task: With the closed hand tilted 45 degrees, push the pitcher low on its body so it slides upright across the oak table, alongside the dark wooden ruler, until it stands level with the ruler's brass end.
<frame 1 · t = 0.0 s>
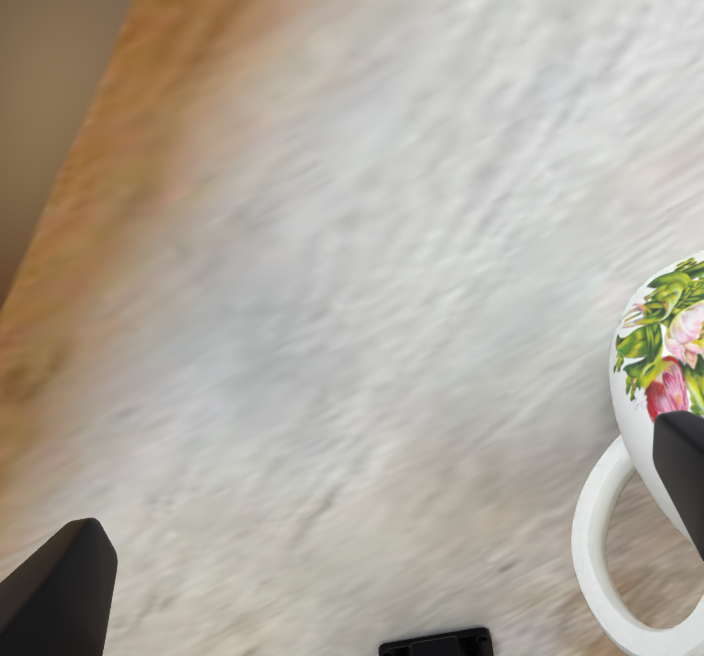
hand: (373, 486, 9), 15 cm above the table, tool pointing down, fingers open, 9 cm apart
pitcher: (673, 339, 26), on the table
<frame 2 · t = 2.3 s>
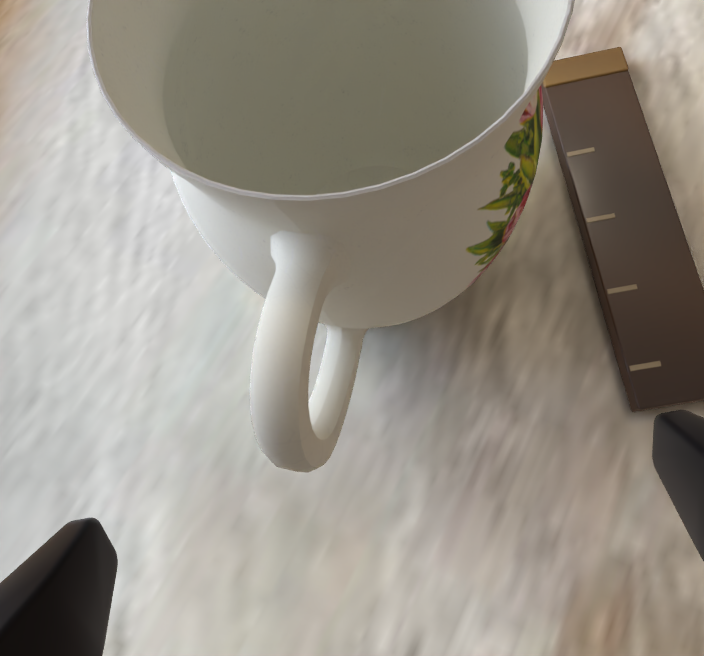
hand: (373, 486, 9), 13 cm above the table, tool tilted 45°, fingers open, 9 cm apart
pitcher: (371, 259, 25), on the table
ruler: (622, 221, 24), on the table
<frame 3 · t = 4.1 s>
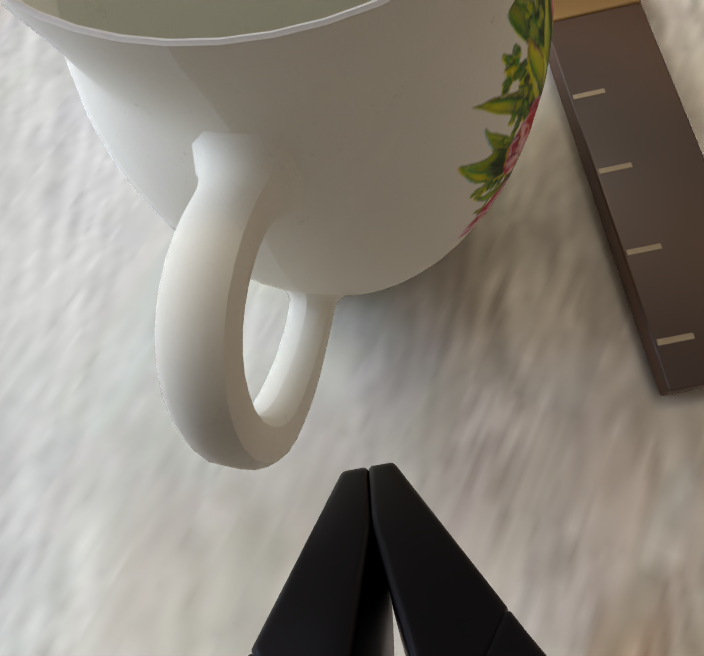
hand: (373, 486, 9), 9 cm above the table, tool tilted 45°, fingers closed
pitcher: (346, 224, 21), on the table
ruler: (639, 174, 20), on the table
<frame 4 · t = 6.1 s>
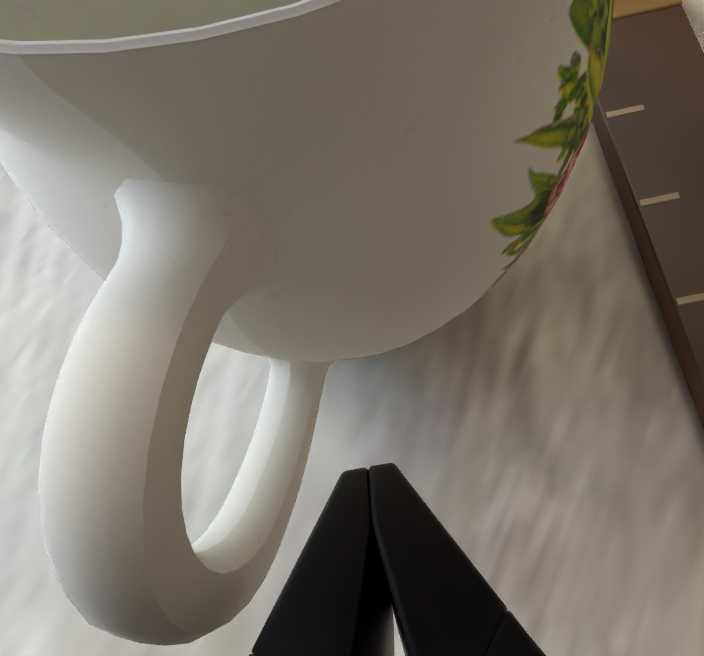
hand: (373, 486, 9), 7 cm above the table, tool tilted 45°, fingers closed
pitcher: (340, 262, 18), on the table, touching gripper
ruler: (686, 205, 17), on the table
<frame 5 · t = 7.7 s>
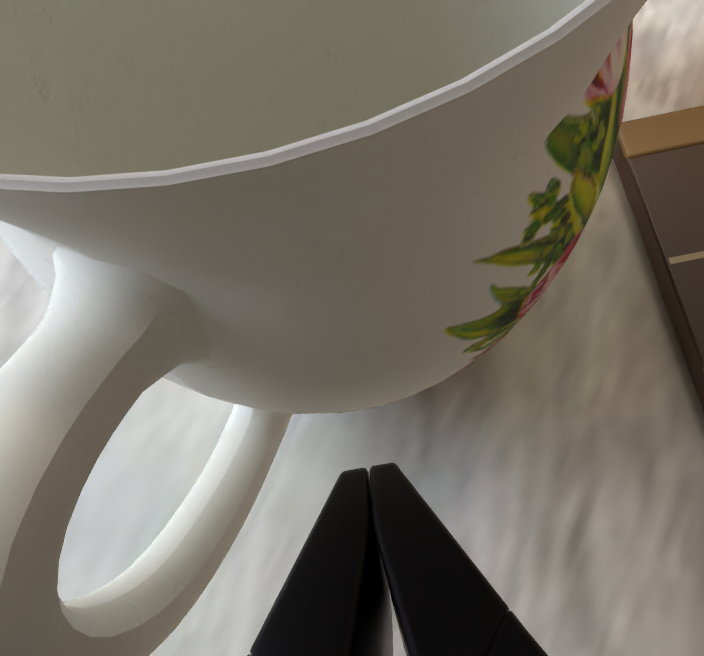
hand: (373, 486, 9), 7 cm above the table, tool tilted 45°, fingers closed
pitcher: (337, 294, 18), on the table, touching gripper
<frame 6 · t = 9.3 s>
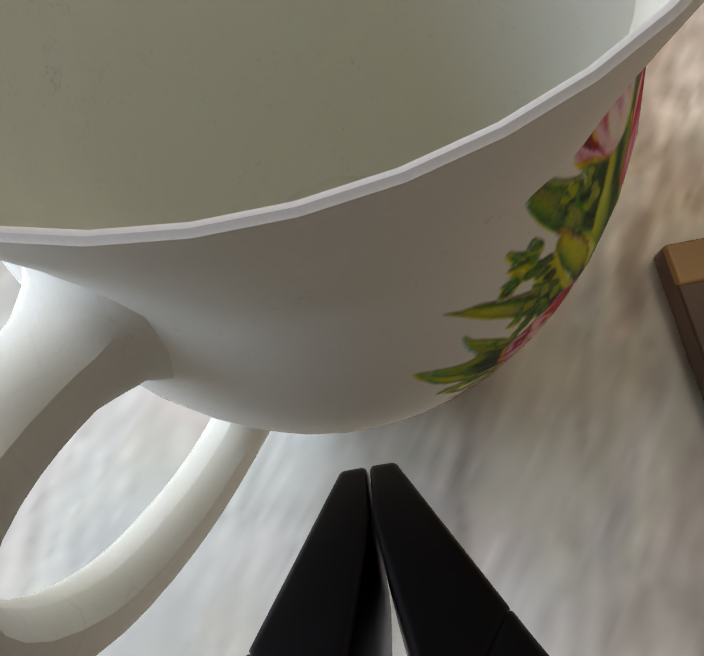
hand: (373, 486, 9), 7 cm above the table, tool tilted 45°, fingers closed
pitcher: (338, 304, 18), on the table, touching gripper
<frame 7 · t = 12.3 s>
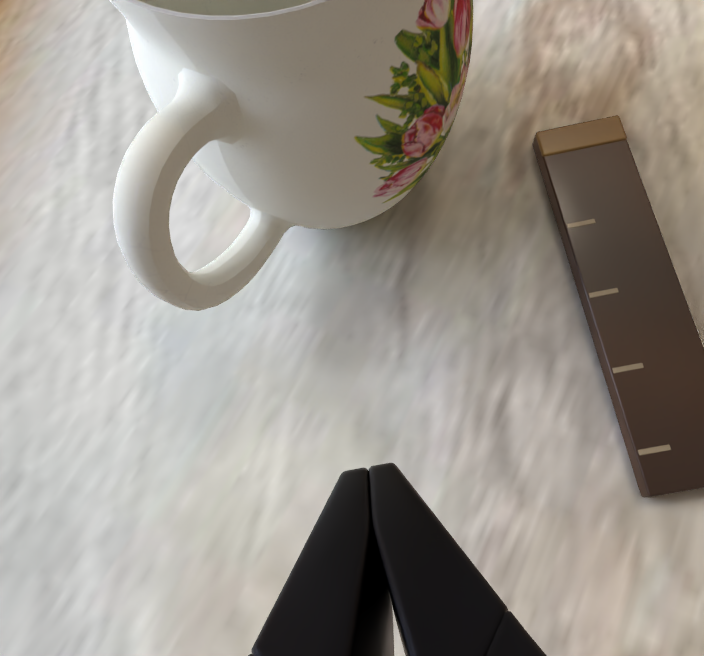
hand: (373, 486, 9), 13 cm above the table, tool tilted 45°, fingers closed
pitcher: (326, 178, 26), on the table
ruler: (625, 294, 23), on the table
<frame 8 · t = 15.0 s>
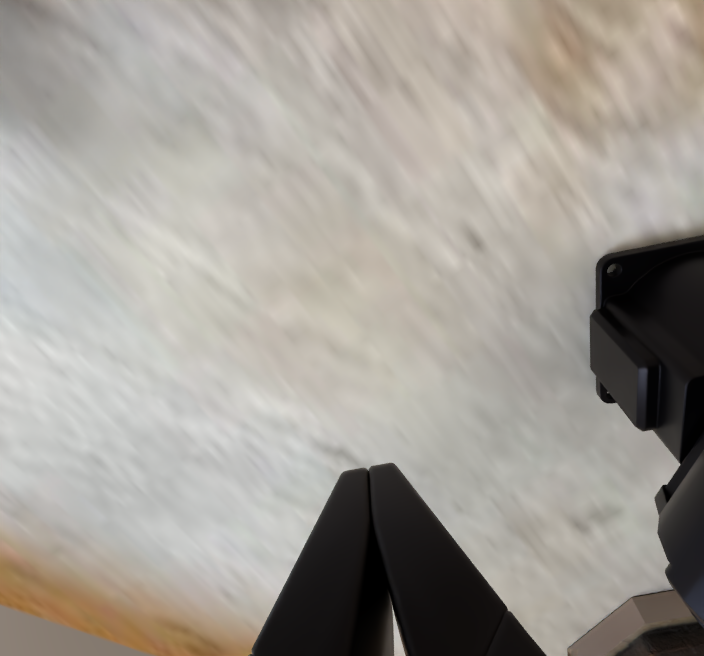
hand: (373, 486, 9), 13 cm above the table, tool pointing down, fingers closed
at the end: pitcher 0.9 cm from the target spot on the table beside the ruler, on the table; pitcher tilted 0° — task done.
